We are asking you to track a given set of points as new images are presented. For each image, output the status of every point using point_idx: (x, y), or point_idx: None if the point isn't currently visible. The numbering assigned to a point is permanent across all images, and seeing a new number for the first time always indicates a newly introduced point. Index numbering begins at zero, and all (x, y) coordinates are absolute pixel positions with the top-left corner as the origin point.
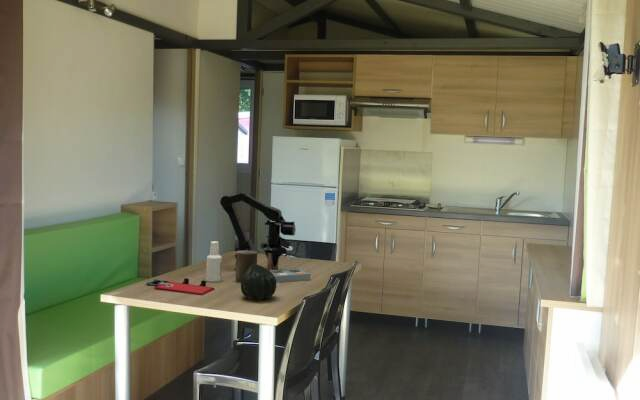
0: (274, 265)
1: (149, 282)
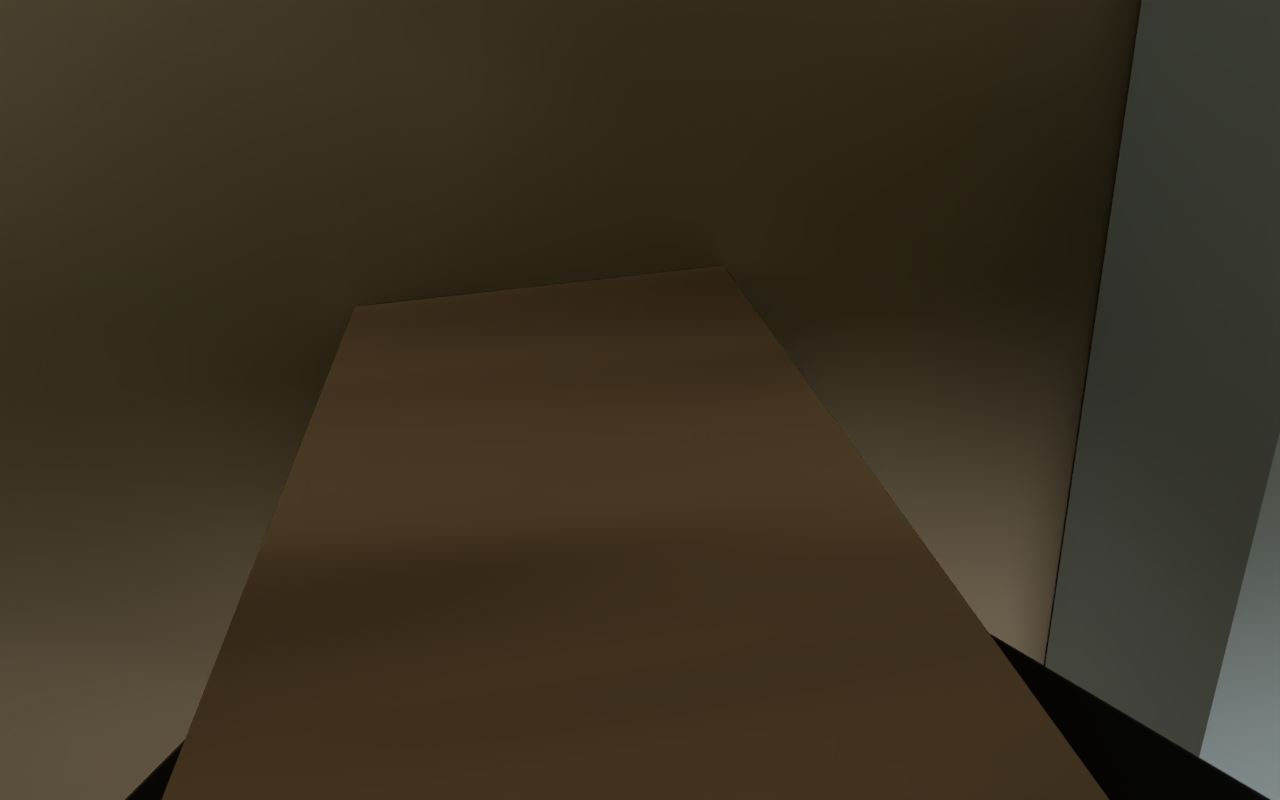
0: None
1: None
